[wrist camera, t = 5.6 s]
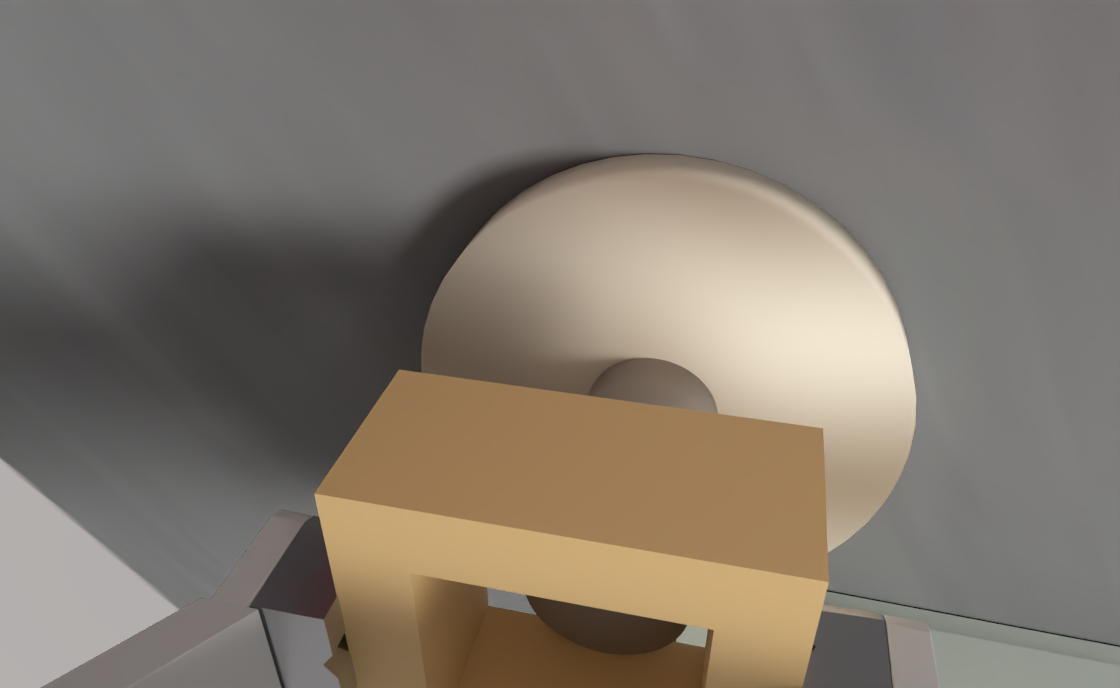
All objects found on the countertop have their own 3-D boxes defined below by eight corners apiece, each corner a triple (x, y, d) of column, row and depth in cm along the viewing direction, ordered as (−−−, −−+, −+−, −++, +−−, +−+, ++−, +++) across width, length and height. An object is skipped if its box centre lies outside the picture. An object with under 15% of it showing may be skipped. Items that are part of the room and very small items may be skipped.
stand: (427, 130, 15) (260, 276, 10) (970, 183, 13) (1056, 386, 9) (454, 505, 20) (349, 716, 15) (854, 579, 18) (869, 843, 14)
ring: (398, 369, 11) (313, 494, 9) (823, 428, 10) (828, 581, 8) (440, 686, 15) (386, 821, 13) (753, 752, 14) (745, 911, 12)
